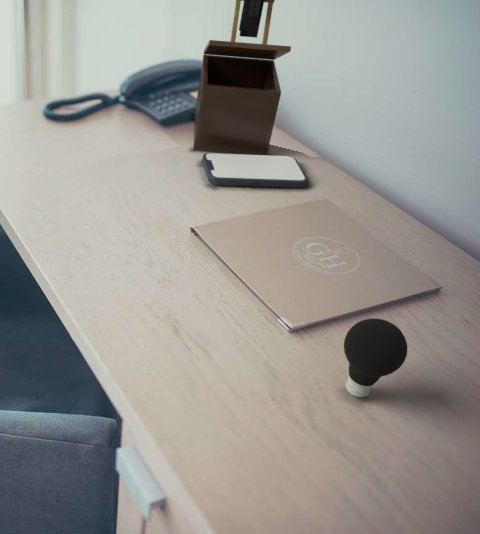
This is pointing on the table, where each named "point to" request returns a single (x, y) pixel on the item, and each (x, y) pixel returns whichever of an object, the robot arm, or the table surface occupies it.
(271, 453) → the table surface
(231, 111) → the chest
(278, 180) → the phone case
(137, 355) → the table surface
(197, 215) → the table surface
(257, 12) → the robot arm
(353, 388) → the light bulb
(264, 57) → the lid
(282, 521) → the table surface
